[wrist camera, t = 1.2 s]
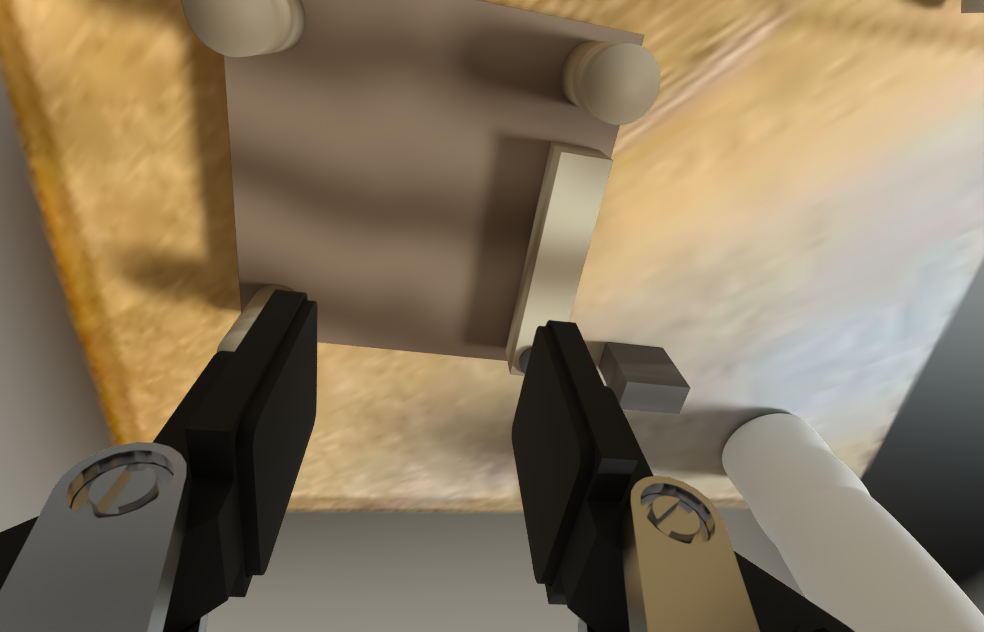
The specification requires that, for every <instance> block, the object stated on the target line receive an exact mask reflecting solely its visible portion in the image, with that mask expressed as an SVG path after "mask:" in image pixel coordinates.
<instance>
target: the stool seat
mask: <svg viewBox="0 0 984 632" xmlns="http://www.w3.org/2000/svg"><path fill="white" fill-rule="evenodd" d="M182 5H183V10H184V14H185V16H186V19H187V21H188V23H189V25H190V27H191V29H192V30H193V32H194V33H195V34H196V36H197V37H198V38H199V39H200V40H201V41H202V42H203V43H204V44H205V45H206V46H208V47H209V48H211V49H212V50H214V51H216V52H218V53H220V54H222V55H224V65H225V80H226V94H227V109H228V124H229V138H230V153H231V168H232V182H233V197H234V212H235V226H236V241H237V256H238V270H239V285H240V300H241V315H240V316H239V317H238V319H237V320H236V322H235V323H234V324H233V326H232V327H231V329H230V330H229V331H228V333H227V334H226V336H225V337H224V338H223V340H222V341H221V343H220V344H219V346H218V349H217V352H218V351H222V350H224V351H234V352H235V350H236V349H237V347H238V346H239V344H240V343H241V341H242V340H243V338H244V336H245V335H246V333H247V332H248V330H249V329H250V327H251V326H252V324H253V323H254V321H255V320H256V318H257V316H258V315H259V313H260V312H261V310H262V309H263V307H264V306H265V304H266V303H267V301H268V300H269V298H270V297H271V295H272V293H273V292H274V291H275V290H276V289H278V290H287V291H295V292H304V293H306V294H307V297H308V300H311V301H316V302H317V308H318V313H317V342H321V343H331V344H341V345H351V346H361V347H371V348H382V349H392V350H402V351H412V352H422V353H432V354H443V355H453V356H463V357H473V358H483V359H494V360H504V361H508V360H507V355H506V347H507V342H508V338H509V333H510V328H511V324H512V319H513V315H514V310H515V306H516V301H517V296H518V292H519V287H520V283H521V278H522V273H523V269H524V264H525V260H526V255H527V251H528V246H529V241H530V237H531V232H532V228H533V223H534V219H535V214H536V209H537V205H538V200H539V196H540V191H541V187H542V182H543V177H544V173H545V168H546V164H547V159H548V155H549V150H550V145H551V142H557V143H563V144H569V145H575V146H581V147H586V148H592V149H598V150H600V151H601V152H603V153H604V154H605V155H607V156H608V157H609V158H610V159H611V155H612V151H613V148H614V144H615V141H616V137H617V133H618V130H619V126H620V125H624V124H628V123H632V122H634V121H636V120H638V119H639V118H641V117H642V116H643V115H644V114H645V113H646V112H647V111H648V110H649V109H650V108H651V107H652V105H653V103H654V102H655V100H656V98H657V95H658V92H659V88H660V80H661V76H660V69H659V66H658V63H657V61H656V59H655V57H654V56H653V55H652V53H651V52H650V51H649V50H647V49H646V48H644V47H642V43H643V39H644V35H642V34H638V33H633V32H628V31H623V30H618V29H614V28H609V27H604V26H599V25H594V24H589V23H585V22H580V21H575V20H570V19H565V18H561V17H556V16H551V15H546V14H541V13H536V12H532V11H527V10H522V9H517V8H512V7H508V6H503V5H498V4H493V3H488V2H483V1H479V0H182ZM599 369H600V371H601V373H602V375H603V377H604V380H605V382H606V384H607V386H608V387H610V388H611V389H612V390H613V392H614V393H615V396H616V398H617V400H618V402H619V404H620V406H621V408H622V409H629V410H640V411H652V412H663V413H675V414H679V413H680V411H681V408H682V406H683V404H684V401H685V399H686V397H687V395H688V392H689V390H690V387H689V385H688V384H687V382H686V381H685V379H684V378H683V376H682V375H681V374H680V372H679V371H678V369H677V368H676V366H675V365H674V363H673V362H672V360H671V359H670V358H669V356H668V355H667V353H666V352H665V350H664V349H663V348H657V347H647V346H638V345H629V344H620V343H610V342H607V343H606V346H605V349H604V352H603V355H602V358H601V361H600V364H599Z"/></svg>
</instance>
